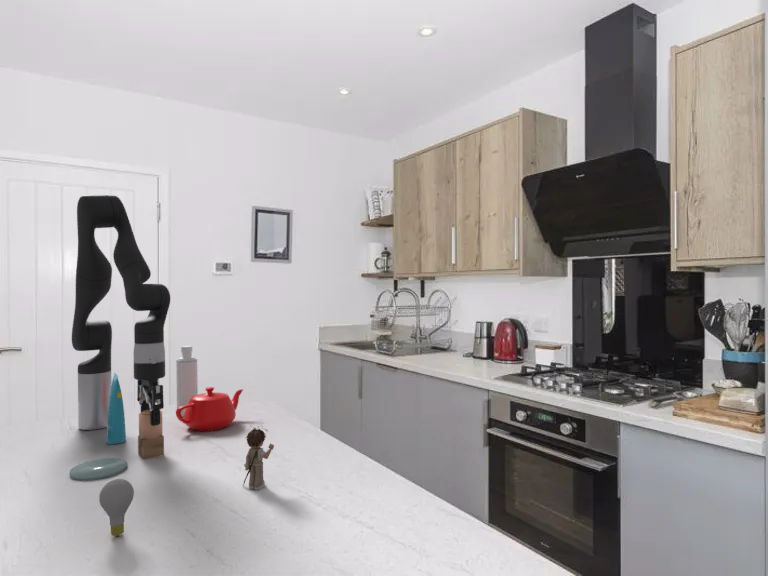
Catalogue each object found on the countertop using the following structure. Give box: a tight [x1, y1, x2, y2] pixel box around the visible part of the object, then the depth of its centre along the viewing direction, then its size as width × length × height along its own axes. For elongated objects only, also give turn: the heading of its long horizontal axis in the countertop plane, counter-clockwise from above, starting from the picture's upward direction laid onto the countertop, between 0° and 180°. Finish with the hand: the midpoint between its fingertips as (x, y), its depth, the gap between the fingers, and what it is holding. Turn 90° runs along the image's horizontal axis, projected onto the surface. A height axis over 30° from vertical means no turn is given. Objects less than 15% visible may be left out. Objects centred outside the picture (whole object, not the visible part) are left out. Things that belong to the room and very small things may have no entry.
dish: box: [69, 457, 128, 481], centre depth 123 cm, size 12×12×1 cm
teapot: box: [175, 386, 244, 432], centre depth 162 cm, size 25×16×12 cm, turn 145°
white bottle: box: [175, 345, 199, 418], centre depth 175 cm, size 7×7×25 cm
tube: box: [106, 372, 127, 445], centre depth 146 cm, size 7×5×19 cm, turn 39°
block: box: [137, 435, 165, 460], centre depth 135 cm, size 5×5×5 cm
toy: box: [242, 419, 275, 491], centre depth 113 cm, size 6×6×15 cm
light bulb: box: [98, 478, 135, 538], centre depth 91 cm, size 6×5×10 cm
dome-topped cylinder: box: [138, 409, 164, 439], centre depth 134 cm, size 6×6×7 cm
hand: (150, 421), depth 134 cm, fingers open, 8 cm apart
